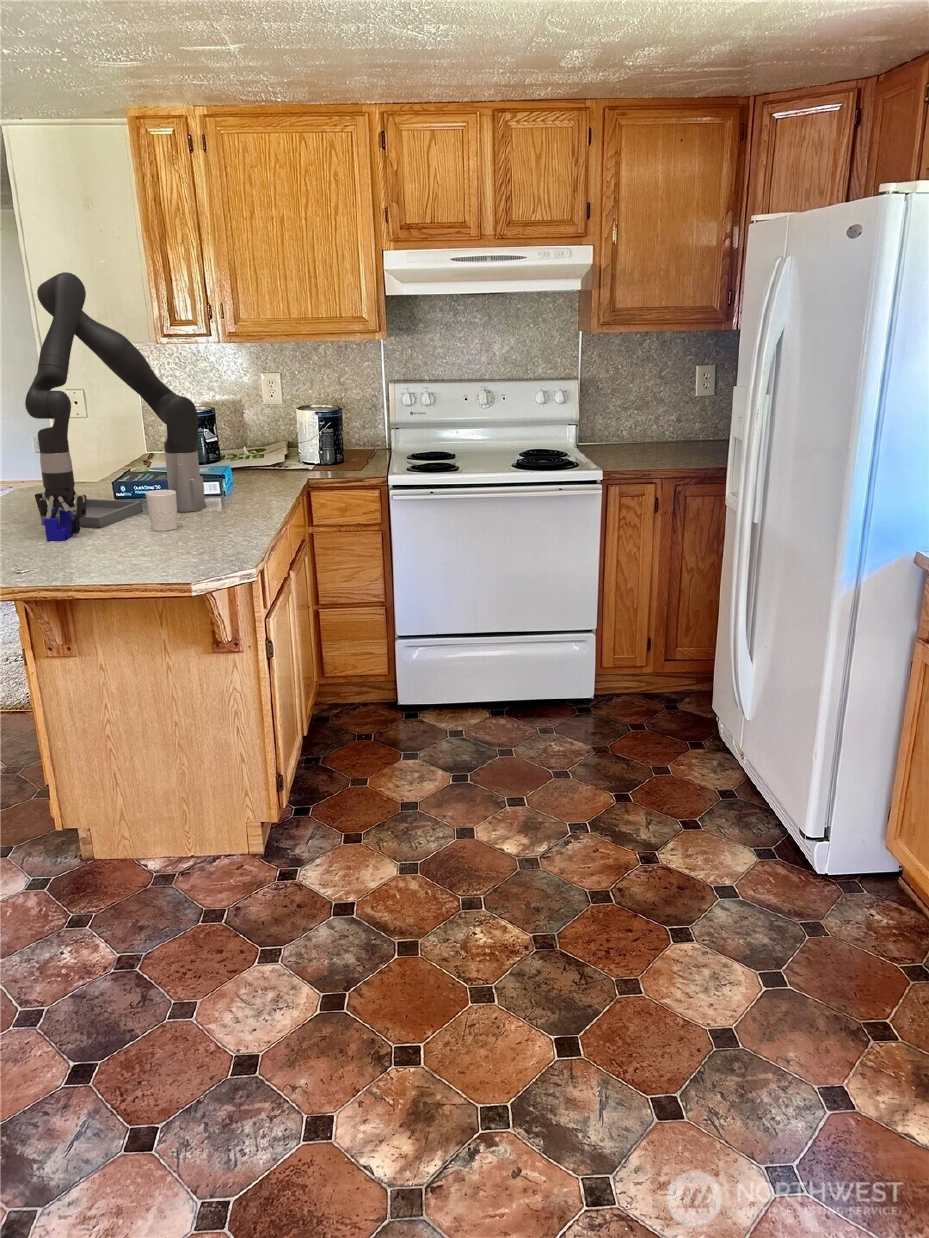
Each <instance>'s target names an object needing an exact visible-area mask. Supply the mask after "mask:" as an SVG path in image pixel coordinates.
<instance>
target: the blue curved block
mask: <svg viewBox="0 0 929 1238" xmlns="http://www.w3.org/2000/svg"><path fill="white" fill-rule="evenodd" d="M44 524H45V525H44V529H45V537H46V542H47V541H65V542H67V541H68V540H70V539H71V538H73V537H74V534H73V533H72V527H71V518H70V516H69V514H68V513H66V511H65V510H60V522H59V521H58V518H46V519H44ZM66 540H67V541H66Z"/></svg>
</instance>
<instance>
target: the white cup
mask: <svg viewBox="0 0 929 1238" xmlns="http://www.w3.org/2000/svg"><path fill="white" fill-rule="evenodd" d="M145 498H146V505H147V511H148V515H149V521H150V526H151V530H152V529H153V530H152V531H154V530H158V531H157V532H161V531H160V530H170V531H172V530H171V529H174V528H176V529H177V528H178V512H177V501H176V491H173V490H169V489H155V490H150V491H147V492H145ZM174 530H175V529H174Z"/></svg>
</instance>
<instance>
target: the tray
mask: <svg viewBox="0 0 929 1238" xmlns="http://www.w3.org/2000/svg"><path fill="white" fill-rule="evenodd" d="M74 503H75V504H76V506H77V503H76V502H74ZM69 508H71V507H69ZM60 510H65V509H62V508H59V509H58V510H57V514H56V517H55V518H58V521H59V522H60ZM142 512H144V509H143V501H137V500H135V501H134V500H119V499H101V498H100V499H97V498H87V501H86V516H85V517H82V518H80V528H83V529H84V528H86V529H99V528H101V529H103V528H105V527H108V526H110V524H111V525H113V524H115V522H116V523H118V522H120V521H123V520H125V519H127V518H130V517H133V516H135V515H138V514H140V513H142ZM46 518H47V517H45V516H41V515H40V520H41V526H45V524H44V519H46ZM117 521H118V522H117ZM112 523H113V524H112Z"/></svg>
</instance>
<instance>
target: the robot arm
mask: <svg viewBox="0 0 929 1238" xmlns="http://www.w3.org/2000/svg"><path fill="white" fill-rule="evenodd" d="M86 293H87V291H86V287H85V285H84V283H83V281H82V280H81V279H80V278H79V277H78V276H77V275H76V274H74V273H71V272H67V271H66V272H60V273H57V274H55V275H54V276H52V277H50V278H49V279H47V280H45V281H44V282H42V283H41V284H40V285H39V286H38V288H37V291H36V294H37V299H38V301H39V304H40V305H41V306H42V308H43V309H44V310H45V311H46V312H47V313H48V314H49V315H51V316H52V321H51V324H50V326H49V328H48V331H47V334H46V335H45V337H44V340H43V342H42V346H41V348H40V351H39V358H38V366H37V373H36V375H35V376H34V378H33V381H32V383H31V385H30V387H29V389H28V391H27V393H26V396H25V401H24V402H25V403H24V406H25V410H26V412H27V413H28V415H29V416H31V417H32V419H33V418H34V419H37V420H39V419H40V420H41V419H43V420H47V419H48V420H53V421H54V422H53V425H52V426H51V427H50V426H49V427H45V428H42V429H40V430H38V432H37V442H38V448H39V463H40V470H41V471H40V472H41V477H42V485H43V488H44V492H37V493H35V494H34V499H35V502H36V505H37V508H38V512H39V515H40V517H41V516H45V517H47V518H55V517H56V514H57V510H58V509H59V508H62V509H65V511H66V513H68V514H69V516H70V518H71V527H72V533H73V535H78V534H79V533H80V531H81V530H82V529H81V528H82V527H80V518H82V517H85V516H86V501H87V499H88V498H87V495H86V494H78V493H77V492H76V491H75V476H74V469H73V461H72V457H71V453H70V447H69V438H68V434H69V423H70V418H71V411H72V402H71V399H70V397H69V395H68V394H67V393H66V392H64V391H62V390H53V389H56V388H59V387H62V386H64V385H66V384H67V380H68V375H69V367H70V359H71V353H72V346H73V342H74V338H75V336H76V337H77V338H78V339H79V340H80V341H81V342H82V343H83V344H84V346H86V347H87V348H88V349H90V351H92V353H94V354H95V355H96V356H97V357H98V359H100V360H101V362H103V363H104V364H105V366H106V367H107V368H109V369H110V371H112V372H113V373H114V375H116V376H117V377H118V378H119V379H120V380H122V381H123V382H124V383H125V384H126V385H127V386H128V387H129V388H130V389H132V390H133V391H134V392H136V393H137V394H138V395H139V396H140V397H141V398H142V399H143V400H144V401H145V403H146V404H147V405H148V406H149V407H150V409H151V410H152V411H153V412H154V414H155V415H156V416H157V417H158V419H159V420H160V421H161V422H162V423H164V424H165V426H166V440H165V441H164V444H163V446H164V457H165V458H164V459H165V467H166V468H165V469H166V478H167V485H168V487H167V488H168V490H173V491H176V501H177V513H178V512H179V513H181V512H182V513H187V512H198V511H200V510H203V509H205V508H206V501H205V489H204V478H203V476H202V475H201V473H200V466H199V465H200V464H199V453H198V443H199V420H198V419H199V418H198V411H197V408H196V405H195V404H194V402H193V401H192V400H191V399H190V398H188V397H186V396H182V395H179V394H177V393H175V391H173V390H172V389H170V388H169V387H168V386H167V385H165V383H164V382H163V381H162V380H160V378H159V377H158V376H157V375H156V374H155V372H154V370H153V369H152V367H151V365H150V363H149V362H148V360H147V359H146V358H145V356H144V355H143V354H142V352H141V351H140V350H139V349H138V348H137V347H136V346H135V345H134V344H133V343H132V342H131V341H130V340H129V339H128V338H127V337H126V336H124V335H123V334H122V333H120V332H118V331H116V330H114V329H113V328H110V327H109V326H106V325H104V324H102V323H100V322H98V321H96V320H95V319H93V318H92V317H90V316H89V315H88V314H87V313H86V311H85V312H84V310H83V308H84V305H85V302H86V297H87V294H86ZM47 501H48V502H47ZM75 503H77V506H76V504H75ZM69 507H71V508H69Z"/></svg>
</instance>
